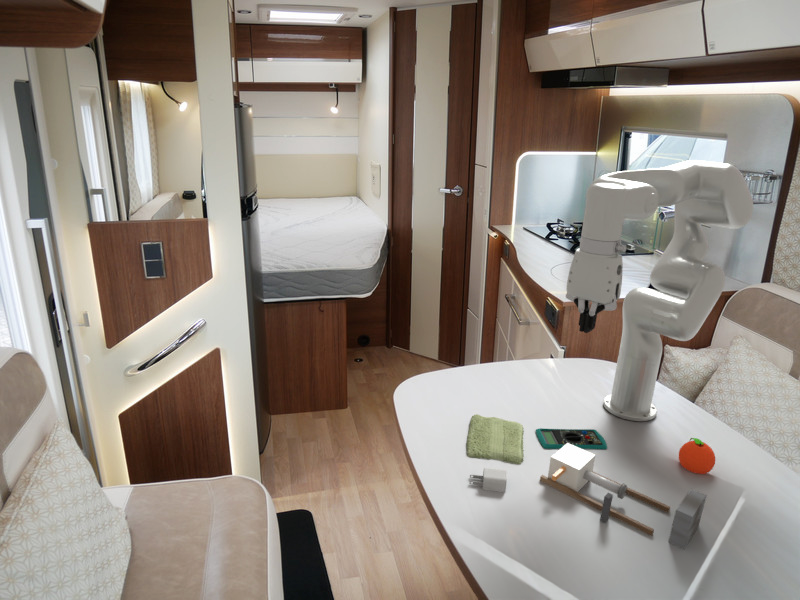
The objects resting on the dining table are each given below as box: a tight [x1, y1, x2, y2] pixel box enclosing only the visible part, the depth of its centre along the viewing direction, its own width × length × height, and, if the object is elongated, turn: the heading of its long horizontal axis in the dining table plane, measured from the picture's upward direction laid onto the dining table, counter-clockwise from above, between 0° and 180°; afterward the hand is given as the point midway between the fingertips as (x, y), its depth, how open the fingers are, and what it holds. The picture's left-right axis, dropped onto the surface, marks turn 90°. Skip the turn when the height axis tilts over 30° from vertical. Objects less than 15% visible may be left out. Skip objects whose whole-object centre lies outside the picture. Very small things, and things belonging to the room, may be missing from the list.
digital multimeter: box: [535, 427, 608, 450], centre depth 132 cm, size 7×15×3 cm, turn 93°
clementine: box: [678, 437, 716, 475], centre depth 124 cm, size 8×7×7 cm
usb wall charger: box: [469, 467, 508, 493], centre depth 116 cm, size 4×7×4 cm, turn 82°
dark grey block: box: [599, 492, 614, 523], centre depth 106 cm, size 2×1×5 cm, turn 138°
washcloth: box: [466, 413, 525, 465], centre depth 131 cm, size 13×18×3 cm
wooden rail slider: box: [539, 471, 708, 550], centre depth 111 cm, size 14×30×8 cm, turn 48°
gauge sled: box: [547, 443, 628, 500], centre depth 113 cm, size 11×14×6 cm
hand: (586, 330), depth 125 cm, fingers closed
